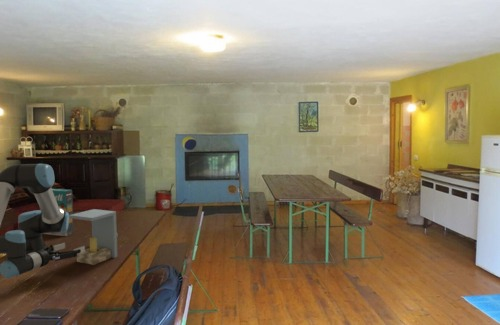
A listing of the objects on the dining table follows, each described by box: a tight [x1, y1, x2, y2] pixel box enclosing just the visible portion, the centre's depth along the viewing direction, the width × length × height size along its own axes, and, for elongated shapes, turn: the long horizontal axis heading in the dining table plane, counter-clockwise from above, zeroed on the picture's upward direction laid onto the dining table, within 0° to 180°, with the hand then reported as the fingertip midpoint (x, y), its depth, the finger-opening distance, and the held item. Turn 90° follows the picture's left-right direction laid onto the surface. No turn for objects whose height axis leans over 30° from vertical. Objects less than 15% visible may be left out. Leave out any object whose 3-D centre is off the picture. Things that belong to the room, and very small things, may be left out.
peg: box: [89, 236, 97, 253], centre depth 212 cm, size 4×4×12 cm
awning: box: [69, 208, 118, 259], centre depth 212 cm, size 16×17×26 cm
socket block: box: [76, 247, 112, 266], centre depth 212 cm, size 12×12×5 cm
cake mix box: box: [39, 188, 75, 237], centre depth 264 cm, size 22×6×30 cm, turn 73°
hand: (74, 246), depth 200 cm, fingers open, 13 cm apart
